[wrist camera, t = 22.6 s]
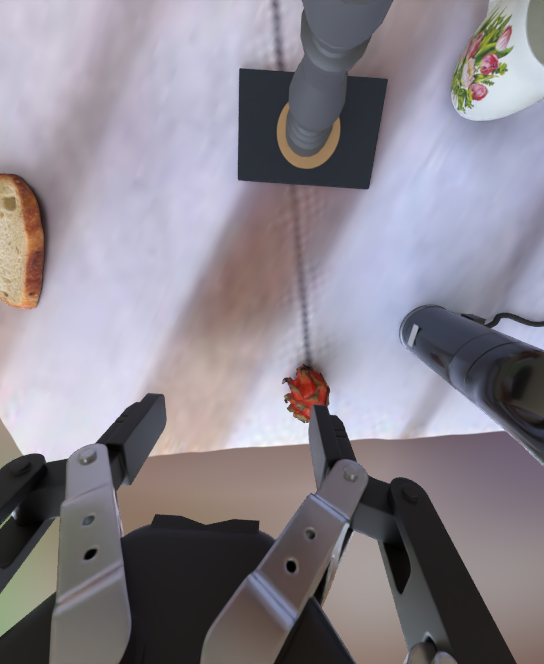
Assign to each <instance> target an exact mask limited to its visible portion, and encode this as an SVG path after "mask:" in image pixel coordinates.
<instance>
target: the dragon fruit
mask: <svg viewBox="0 0 544 664" xmlns="http://www.w3.org/2000/svg"><path fill="white" fill-rule="evenodd" d="M302 365H303V366H301V367H299V368H297V369H296V370H297V375H298V377H297V379H296V380H293V379H292V378H291V377H290V378H284V379H283V381H282V384H284V383H285V382H288V385H289V387H290V390H291V393H289V394H286V395H285V396H284V397H285V400H284V401H285V403H288V402H287V400H288V401H290V403H291V404H290V405H289V406H288V408H287V409H288V411H289V412H294V413H293V416H294V417H295V418H298V420H300V421H302V422H303V423H305V421H306V423H308V422H310V416H311V408H312V405H313V404H317V405H327V406H328V405H329V393H330V388H329V386H328V385H327V383H326V381H325V380H324V378H323V377H322V374H321V373H320V374H319V373H318V372H317V371H315V370H314V369H313V368H312V367H310V366H306V365H305V364H302Z"/></svg>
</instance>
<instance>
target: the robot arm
mask: <svg viewBox="0 0 544 664" xmlns="http://www.w3.org/2000/svg"><path fill="white" fill-rule="evenodd" d="M501 318H510V319H513V320H515V321H518V322H520V323H523V324H526V325H529V326H534V327H543V326H544V322H533V321H529V320H526V319H524V318H521V317H519V316H516V315H513V314H509V313H501V314H498V315H496V316H495V318H494V320H493V321H492V322H490V323H488V324H486V325H484V323H485V321H486V319H483V318H481V317H478V316H476V315H473V314H461V316H460V315H457V314H455V313H453V312H450V311H448V310H446V309H445V308H442V307H440V306H437V305H425V306H422V307H419V308H417V309H415V310H413V311H412V312H411V313H409V314H408V315H407V317H406V318H405V319H404V321H403V322H402V324H401V327H400V340H401V342H402V344H403V345H404V347H406V348H407V349H408V350H409V351H411V352H412V353H414V354H415V355H416V356H417V357H418V358H419V359H421V360H422V361H423V362H424V363H425V364H427V365H428V366H429V367H430V368H431V369H433V370H434V371H435V372H436V373H437V374H438V375H440V376H441V377H442V378H443V379H444V380H446V381H447V382H448V383H449V384H450V385H452V386H453V387H454V388H455V389H457V390H458V391H459V392H460V393H461V394H463V395H464V396H465V397H466V398H467V399H469V400H470V401H471V402H472V403H473V404H475V405H476V406H477V407H478V408H480V409H481V410H482V411H483V412H484V413H485V414H486V415H488V416H489V417H490V418H491V419H492V420H493V421H495V422H496V423H497V424H498V425H499V426H501V427H502V428H503V429H504V430H505V431H506V432H508V433H509V434H510V435H511V436H512V437H513V438H514V439H515V440H516V441H517V442H519V444H521V445H522V446H523V447H524V448H525V449H526V450H527V451H528V452H529V453H530V454H531V455H532V456H533V457H534V458H535V459H537V460H538V461H539V462H540V463H541V464H542V465H543V466H544V350H542V349H540V348H537V347H535V346H532V345H530V344H527V343H525V342H522V341H520V340H517V339H515V338H513V337H510V336H508V335H505V334H503V333H500V332H498V331H496V330H493V329H491V328H492V327H494V326H496V325H497V324H498V323H499V321H500V319H501ZM165 425H166V408H165V398H164V395H163V394H153V393H148V394H147V395H146V396H145V397H144V398H143V399H142V400H141V402H136V403H134V404H132V405H131V406H129V407H128V408H126V409H125V411H124V412H123V413H122V414H121V415H120V417H118V418H117V420H116V421H115V423H113V424H112V425H111V426H110V427H109V429H108V430H107V431H106V432H105V433H104V434H103V435H102V436H101V437H100V439H99V440H98V441H97V442H96V443H95V444H90V445H87V446H84V447H82V448H80V449H78V450H77V451H75V452H74V453H73V454H72V455H71V456H70V457H69V458H68V459H64V460H58V461H53V462H47V463H46V461H45V458H44V456H43V455H41V454H28V455H24V456H21V457H19V458H17V459H14V460H13V461H11V462H9V463H8V464H6V465H5V466H4V467H2V468H1V469H0V525H1V524H2V523H3V522H4V521H5V519H6V518H7V517H8V516H9V515H10V514H12V516H11V518H10V519H9V520H8V521H7V522H6V523H5V524H4V525H3V527H2V528H1V529H0V593H1V592H2V591H3V589H4V588H5V587H6V585H7V584H8V582H9V581H10V580H11V578H12V577H13V576H14V574H15V573H16V572H17V570H18V569H19V567H20V566H21V565H22V563H23V562H24V561H25V559H26V558H27V557H28V555H29V554H30V552H31V551H32V550H33V548H34V547H35V546H36V544H37V543H38V541H39V540H40V539H41V537H42V536H43V535H44V533H45V532H46V530H47V529H48V528H49V526H50V525H51V524H52V522H53V521H54V520H55V518H57V517H60V528H59V548H58V569H57V590H56V592H54V593H53V594H52V595H51V596H50V597H48V598H47V599H46V600H45V601H43V602H42V603H41V604H40V605H39V606H37V607H36V608H35V609H34V610H33V611H31V612H30V613H29V614H28V615H26V616H25V617H24V618H23V619H22V620H20V621H19V622H18V623H17V624H16V625H14V626H13V627H12V628H11V629H10V630H8V631H7V632H6V633H5V634H3V635H2V636H1V637H0V664H356V662H355V661H354V659H353V658H352V656H351V655H350V653H349V651H348V650H347V648H346V646H345V645H344V643H343V642H342V640H341V638H340V637H339V635H338V634H337V632H336V630H335V629H334V627H333V626H332V624H331V622H330V621H329V619H328V618H327V616H326V614H325V613H324V611H323V610H322V606H323V604H324V602H325V599H326V597H327V595H328V593H329V590H330V587H331V585H332V582H333V580H334V577H335V574H336V571H337V569H338V566H339V564H340V562H341V560H342V557H343V555H344V553H345V551H346V549H347V546H348V544H349V542H350V540H351V537H352V535H353V533H354V531H357V532H359V533H362V534H364V535H367V536H369V537H371V538H374V539H376V540H377V541H378V545H379V548H380V552H381V555H382V559H383V562H384V566H385V570H386V573H387V577H388V580H389V584H390V588H391V591H392V595H393V598H394V602H395V605H396V609H397V612H398V616H399V620H400V623H401V627H402V630H403V634H404V637H405V641H406V645H407V648H408V652H409V653H408V655H407V657H406V659H405V661H404V663H403V664H517V663H516V662H515V660H514V658H513V656H512V654H511V652H510V650H509V648H508V646H507V645H506V643H505V641H504V639H503V637H502V635H501V633H500V631H499V629H498V628H497V626H496V624H495V622H494V620H493V618H492V616H491V614H490V612H489V610H488V609H487V607H486V605H485V603H484V601H483V599H482V597H481V595H480V593H479V591H478V590H477V588H476V586H475V584H474V582H473V580H472V578H471V576H470V574H469V572H468V571H467V569H466V567H465V565H464V563H463V561H462V559H461V557H460V556H459V554H458V552H457V550H456V548H455V546H454V544H453V542H452V540H451V538H450V537H449V535H448V533H447V531H446V529H445V527H444V525H443V523H442V521H441V519H440V518H439V516H438V514H437V512H436V510H435V508H434V506H433V504H432V503H431V500H430V499H429V497H428V495H427V493H426V492H425V491H424V490H423V488H422V487H421V486H419V485H418V484H417V483H415V482H413V481H412V480H409V479H407V478H401V477H399V478H395V479H393V480H392V481H391V483H390V484H388V483H386V482H383V481H380V480H377V479H375V478H372V477H370V476H369V475H368V474H367V472H366V470H365V469H364V468H363V467H362V466H361V465H360V464H358V463H357V461H356V458H355V455H354V452H353V450H352V447H351V444H350V442H349V438H348V436H347V433H346V431H345V427H344V425H343V422H342V421H341V420H340V419H339V418H338V417H337V416H336V415H330V414H329V411H328V408H327V405H317V404H313V405H312V408H311V416H310V423H309V443H310V449H311V456H312V462H313V468H314V475H315V481H316V487H317V492H316V493H315V494H314V495H313V494H312V493H310V494H309V495H308V496H307V497H306V499H305V500H304V502H303V503H302V505H301V506H300V507H299V509H298V510H297V512H296V513H295V514H294V516H293V517H292V519H291V520H290V522H289V523H288V524H287V526H286V527H285V529H284V530H283V531H282V533H281V534H280V536H279V537H278V538H277V540H275V539H274V538H273V537H271V536H270V535H268V534H266V533H265V532H262V531H260V530H259V521H253V520H238V519H233V520H228V521H223V522H218V523H213V524H209V525H204V524H201V523H198V522H196V521H193V520H191V519H188V518H185V517H183V516H174V515H158V514H157V515H155V517H154V519H153V521H152V523H151V524H150V525H146V526H143V527H140V528H138V529H136V530H134V531H132V532H130V533H128V534H127V535H125V536H124V533H123V528H122V521H121V515H120V509H119V504H118V497H117V490H118V488H119V487H120V485H131V484H132V482H133V481H134V479H135V477H136V476H137V474H138V472H139V470H140V469H141V467H142V465H143V463H144V462H145V460H146V459H147V457H148V455H149V454H150V452H151V450H152V449H153V447H154V445H155V444H156V442H157V440H158V439H159V437H160V435H161V434H162V432H163V430H164V428H165Z"/></svg>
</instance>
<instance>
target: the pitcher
mask: <svg viewBox="0 0 544 664" xmlns="http://www.w3.org/2000/svg"><path fill="white" fill-rule="evenodd" d="M543 98H544V0H490V1H489V6H488V13H487V17H486V18H485V19H484V20H483V22H482V23H481V24H480V26H479V27H478V28H477V30H476V31H475V33H474V34H473V36H472V37H471V39H470V40H469V42H468V44H467V45H466V47H465V49H464V51H463V53H462V55H461V57H460V59H459V61H458V63H457V66H456V68H455V71H454V75H453V79H452V83H451V100H452V104H453V106H454V108H455V110H456V111H457V112H458V113H459V114H460V115H461V116H463V117H464V118H466V119H469V120H474V121H487V120H494V119H499V118H502V117H506V116H509V115H512V114H514V113H516V112H519V111H521V110H523V109H525V108H527V107H529V106H531V105H533V104H535V103H537V102H538V101H540V100H542V99H543Z"/></svg>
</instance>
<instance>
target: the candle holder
mask: <svg viewBox="0 0 544 664" xmlns="http://www.w3.org/2000/svg"><path fill="white" fill-rule="evenodd" d="M302 2H303V6H304V10H303V12H302V19H301V36H300V37H301V41H302V45H303V49H304V53H305V55H304V57H303V59H302V61H301V63H300V64H299V66H298V68H297V70H296V71H295V73H294V76H293V79H292V81H291V84H290V87H289V107H290V108H289V111H288V113H287V119H286V135H285V136H286V139H287V143H288V146H289V147H290V148H291V150H292V151H293V152H294V153H295V154H297V155H299V156H301V157H311V156H313V155H315V154H317V153H318V152H319V151H320V150H321V149H322V148H323V147H324V145H325V143H326V142H327V140H328V137H329V135H330V133H331V131H332V129H333V123H334V122H335V121H336V120H337V119H338V117H339V115H340V113H341V111H342V108H343V106H344V104H345V98H346V89H347V72H348V70H350V69H351V68H352V67H353V66H354V65H355V64H356V63H357V62H358V60H359V59H360V58H361V57H362V56H363V54H364V52H365V50H366V47H367V45H368V43H369V41H370V39H371V36H372V34H373V33H374V32H375V30H376V29H377V28H378V27H379V26H380V25H381V24H382V22H383V20H384V18H385V16H386V14H387V12H388V10H389V8H390V6H391V4H392V2H393V0H302Z"/></svg>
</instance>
